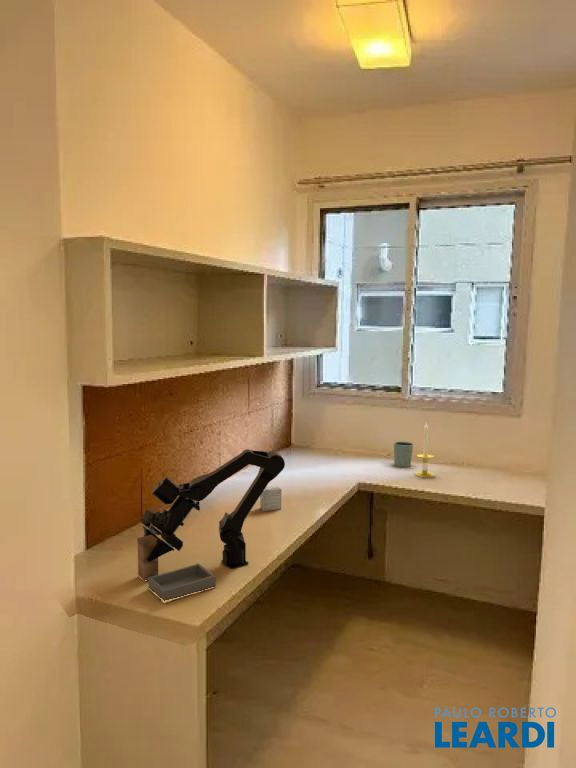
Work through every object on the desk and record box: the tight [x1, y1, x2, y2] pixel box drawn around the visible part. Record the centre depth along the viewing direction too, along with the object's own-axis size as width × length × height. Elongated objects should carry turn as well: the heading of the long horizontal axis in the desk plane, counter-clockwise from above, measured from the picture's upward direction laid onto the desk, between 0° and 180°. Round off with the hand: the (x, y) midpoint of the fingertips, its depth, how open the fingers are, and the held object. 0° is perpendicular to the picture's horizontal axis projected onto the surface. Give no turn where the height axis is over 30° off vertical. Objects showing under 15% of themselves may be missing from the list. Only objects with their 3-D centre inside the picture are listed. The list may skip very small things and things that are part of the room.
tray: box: [147, 563, 216, 601], centre depth 163 cm, size 16×10×4 cm, turn 127°
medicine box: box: [259, 485, 282, 512], centre depth 231 cm, size 8×4×9 cm, turn 111°
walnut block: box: [137, 535, 159, 582], centre depth 169 cm, size 4×4×12 cm
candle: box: [414, 422, 436, 479], centre depth 282 cm, size 10×10×27 cm
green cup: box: [393, 440, 414, 468], centre depth 301 cm, size 10×10×12 cm
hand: (143, 557), depth 168 cm, fingers open, 7 cm apart
